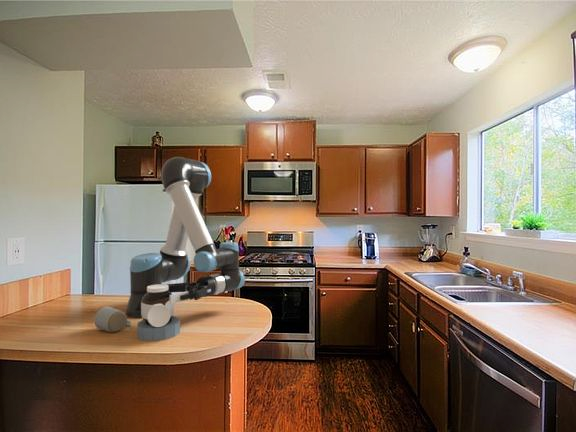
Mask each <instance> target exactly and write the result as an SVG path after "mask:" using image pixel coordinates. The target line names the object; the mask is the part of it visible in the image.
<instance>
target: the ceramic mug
mask: <svg viewBox="0 0 576 432" xmlns="http://www.w3.org/2000/svg"><path fill="white" fill-rule="evenodd" d="M127 317H128V316H126V312H123V311H122V310H120V309H116V308H114V307H111V306H103V307H102V308H100V309H99V310H97V312H96V313H95V315H94V319H93V322H94V325H95V327H96V328H97V329H99V330H101V331H102V330H103V331H106V332H110V333H117V332H120V331H122V330H123V329H124V327H125V326H127V327H130V326H131V324H132V321H130V320H128V319H127Z"/></svg>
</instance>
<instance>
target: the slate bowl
mask: <svg viewBox="0 0 576 432" xmlns="http://www.w3.org/2000/svg"><path fill="white" fill-rule="evenodd" d="M180 324H181V322H180V317H178V316H176V315H173V316H172V317H171V318H170V319H169V321H168V323H167V324H165V325H164V326H161V327H154V326H152V325H150V324H149V323H147V322H146V321H144V320H143V319H142V320H140V321H138V322H137V326H136V328H137V330H136V332H137V339H139V340H141V341H143V342H158V341H159V342H160V341H165V340H168V339H171V338H175V337H176V336H178V335H179V334H180V333H181V331H180V330H181V325H180Z"/></svg>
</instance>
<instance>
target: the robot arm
mask: <svg viewBox="0 0 576 432" xmlns="http://www.w3.org/2000/svg"><path fill="white" fill-rule="evenodd" d="M160 173H161V174H160V176H161V177H160V178H161V183H162V186H163V189H164V191H165V192H166V194H169V195H170V197H171V200H172V202H173V210H172V215H171V218H170V223H169V228H168V232H167V236H166V241H165V245H163V246H161V247H160V251H159V253H158V252H149V253H148V252H147V253H143V254H138V255H135V256H133V257H132V258H131V260H130V267H129V273H130V274H129V275H130V277H129V278H130V295H129V299H128V301H127V305H126V307H125V315H126V317H128V318H133V319H134V318H135V319H138V318H139V319H141V318H142V316H141V301H142V298H143V296H144V295H145V294H146V293H147V287H148V286H150V285H156V284H164V283H166V282H170V281H177V280H178V279H181V278H183V277H184V276H186V275H187V274H188V273H189V271H190V268H191V261H190V257H189V255H188V254H189V252H188V251H187V249H186V247H187V244H188V243H187V242H188V239H189V242H190V243H191V246H192V248H193V251H194V252H195V253H194V257H193V267H194V268H195V270H197V271H198V272H200V273H209V272H214V271H216V270H219V273H214V274H209V275H205V276H200V277H199V278H198V279H197V280H196V282H195V281H194V282H191V281H186V282H178V283H177V282H176V283H168V284H167V283H166V284H167V285H169V290H168V291H169V292H171V293H173V294H172V295H170V304H173V303H174V304H176V303H181V302H184V301H189V300H190V301H191V300H194V301H198V300H200V299H202V298H205V297H206V298H207V297H208V296H213V295H215V296H217V295H218V294H221V293H225V292H231V291H235V290H239V289H240V288H242V287H243V286H244V284H245V282H246V276H245V275H244V272H243V271H242V270H240V269H239V268H240V266H239V265H240V259H239V257H240V254H239V253H240V251H239V244H238V242H235V241H226V242H225V241H224V242H221V243H220V244H219V247H218V248H216V245H215V243H214V240H213V239H212V236H211V233H210V232H209V229H208V227H207V225H206V222H205V220H204V217H203V215H202V214H201V211H200V209H199V207H198V204H197V201H198V198H199V197H200V196H202V195H203V192H204V189H206V188H207V187H208V186H210V184H211V181H212V173H211V170H210V167H209V166H208V165H207V164H206V163H205V162H202V161H200V160H196V159H192V158H186V157H181V156H174V157H170V158H169V159H167V160H166V161H165V162H164V163H163V166H162V167H161V172H160ZM142 319H143V318H142Z"/></svg>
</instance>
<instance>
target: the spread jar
mask: <svg viewBox="0 0 576 432" xmlns="http://www.w3.org/2000/svg"><path fill="white" fill-rule="evenodd" d="M168 290H169V285H167V283H166V284H165V283H162V284H156V285H150V286H148V287H147V293H146V294H145V295H144V296H143V298H142V301H141V316H142V320H144V321H146V322H147V323H149V324H150V325H152V326H154V327H161V326H164V325H165V324H167V323H168V321H169V319H170V318H171V317H172V316H174V314H175V303H173V304H170V295H172V293H173V292H169V291H168Z"/></svg>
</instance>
